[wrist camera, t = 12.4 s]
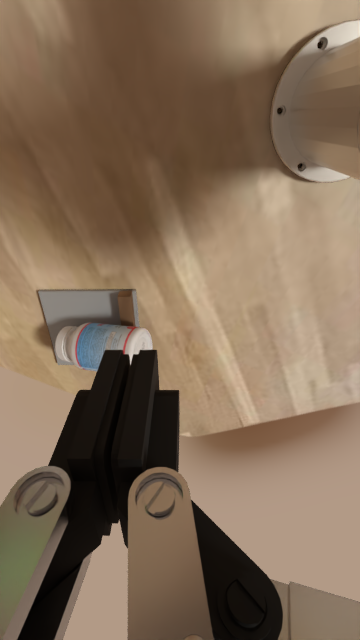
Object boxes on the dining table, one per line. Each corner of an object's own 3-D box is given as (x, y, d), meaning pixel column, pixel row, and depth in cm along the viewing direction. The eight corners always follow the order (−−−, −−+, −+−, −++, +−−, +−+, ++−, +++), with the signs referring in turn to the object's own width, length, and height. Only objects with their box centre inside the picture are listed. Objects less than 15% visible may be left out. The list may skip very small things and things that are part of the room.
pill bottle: (144, 317, 39) (66, 310, 42) (126, 361, 35) (42, 349, 39) (157, 346, 43) (86, 337, 47) (142, 387, 40) (66, 374, 44)
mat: (135, 289, 42) (135, 291, 41) (142, 362, 48) (142, 364, 47) (39, 289, 42) (38, 291, 41) (59, 362, 48) (58, 364, 48)
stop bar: (132, 289, 42) (130, 296, 40) (139, 362, 48) (138, 371, 46) (120, 289, 42) (117, 296, 40) (129, 362, 48) (127, 371, 46)
